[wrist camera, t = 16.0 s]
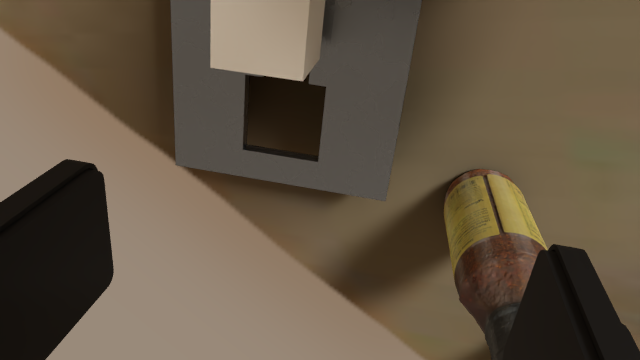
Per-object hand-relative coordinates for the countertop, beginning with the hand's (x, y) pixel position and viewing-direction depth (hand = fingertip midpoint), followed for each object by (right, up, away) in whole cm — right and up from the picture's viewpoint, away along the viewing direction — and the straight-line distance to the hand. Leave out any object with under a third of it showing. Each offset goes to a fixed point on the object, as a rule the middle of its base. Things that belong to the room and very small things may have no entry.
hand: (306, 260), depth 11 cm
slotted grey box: (-1, +12, +29) cm, 31 cm away
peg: (0, +15, +27) cm, 31 cm away
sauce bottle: (+14, 0, +32) cm, 35 cm away
